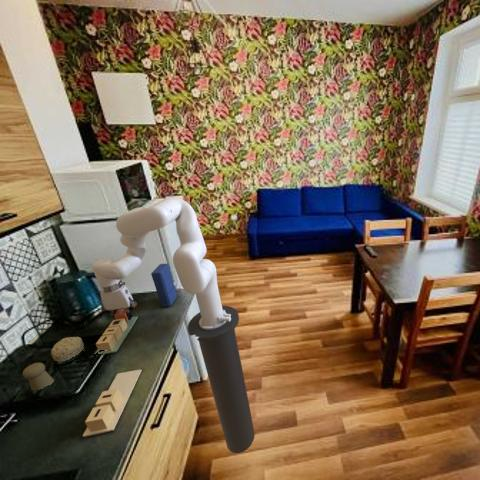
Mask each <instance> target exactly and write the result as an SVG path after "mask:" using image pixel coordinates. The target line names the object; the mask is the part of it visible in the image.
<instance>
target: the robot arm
mask: <svg viewBox="0 0 480 480" xmlns="http://www.w3.org/2000/svg"><path fill="white" fill-rule="evenodd" d="M174 221H175V224H176V225H175V226H176V234H177V236H178V239H179V242H180V246H178V248H177V249H176V250H175V251H174V253H173V256H172V265H173V267H174V269H175V272H176V275H177V277H178V280H179V282H180V285H181V287H182V288H183V290H184V291H185V292H187V293H189V294H192V295H195V298H196V300H197V305H198V309H199V310H198V311H199V312H200V314H201V319H200V321H199V325H200V327H201V328H202V329H205V330H212V329H216V328H218V327H220V326H222V325H223V324H224V323H225V322H226V321H229V322H230V321H231V317H230V316H231V314H227V313H226V312H225V310H223V309H222V306H223V303H222V300H221V296H220V295H221V294H220V290H219V285H218V276H217V275H218V273H217V267H216V265H215V263H214V262H213V261H212V260H210V259H207V258H205V256H206V254H207V252H208V249H207V246H206V245H207V244H206V243H205V239H204V236H203V234H202V231H201V228H200V224H199V221H198V217H197V214H196V212H195V210H194V208H193V207H192V206H191V204H190V203H189V202H187V201H186V200H184V199H182V198H179V197H173V196H172V197H167V198H164V199H161V200H159V201H158V202H156V203H154V204H151V205H150V206H148V207H142V206H139V207H135V208H133V209H129V210H128V211H126V212H124V213H122V214H120V215H119V216H118V217H117V218H116V224H115V227H116V229H117V231H118V232H119V234H121V235H120V237H119V240H120V243H121V245H123V246H124V247H126V248H127V249H126V251H125V253H124V255H123V256H121V257H119V258H118V259H116V260H115V261H114V260H113V258H106V257H105V258H102V259H101V258H100V259H98V260H96V261H94V262H93V263H92V264H91V269H92V271H93V273H94V276H95V279H96V281H97V283H98V286H99V288H100V299H101V303H102V307H101V308H100V310H101V311H103V312H106V313H107V314H110V316H112V318H113V320H115V317H114V315H115V314H116V312H117V311H118V310H119V309H125V311H126V312H127V313H126V315H127V317H128V320H131V318H132V317H134V313H133V310H134V308H136V307H137V306H138V302H137V301H135V300H134V298H133V296H132V293H131V292H130V290H129V288H128V287H127V285H126V281H122V280H124V279H126V278H127V277H129V276H130V275H131V274H133V272H134V271H136V270H137V269H138V268H139V267H140V266H141V265H142V263H143V261H144V258H145V256H146V254H147V245H146V242H147V240H148V237H149V234H150V233H151V232H154V231H158V230H161V229H162V228H165V227H167V226H168V225H169V224H171V223H173V222H174Z"/></svg>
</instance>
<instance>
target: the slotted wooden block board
mask: <svg viewBox="0 0 480 480" xmlns="http://www.w3.org/2000/svg"><path fill="white" fill-rule="evenodd" d="M142 371H143V370H142V369H135V370H130V371H123V372H118V373H117V374H116V375H115V377H114V379H113V380H112V383H111V385H110V386H109V388H108V389H107V390H104V391H102V392H101V394H100V395H99V398H98V399H97V400H96V402H95V404H94V405H95V406H93V407H92V409H91V411H90V412H89V414H88V416H87V418H86V420H85V421H84V424H85V425H86V429H85V431H84V432H83V434H82V437H83V438H87V437H91V436H96V435H101V434H104V433H109V432H114V431H115V428H116V426H117V424H118V423H119V419H120V417H121V416H122V413H123V411H124V409H125V408H126V405H127V403H128V401H129V398H130V397H131V394H132V392H133V390H134V388H135V386H136V383H137V381H138V379H139V377H140V375H141V373H142Z"/></svg>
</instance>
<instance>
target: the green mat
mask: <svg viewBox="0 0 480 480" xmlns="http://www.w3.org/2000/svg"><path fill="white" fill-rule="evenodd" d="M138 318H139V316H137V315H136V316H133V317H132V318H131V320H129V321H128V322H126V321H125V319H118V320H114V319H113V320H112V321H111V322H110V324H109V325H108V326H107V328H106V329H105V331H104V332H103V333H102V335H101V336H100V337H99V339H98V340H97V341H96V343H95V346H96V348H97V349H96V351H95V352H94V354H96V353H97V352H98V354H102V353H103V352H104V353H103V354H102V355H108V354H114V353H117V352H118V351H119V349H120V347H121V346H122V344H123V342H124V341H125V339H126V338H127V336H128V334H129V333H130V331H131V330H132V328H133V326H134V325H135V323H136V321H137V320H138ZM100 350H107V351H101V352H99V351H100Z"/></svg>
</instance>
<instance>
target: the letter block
mask: <svg viewBox="0 0 480 480" xmlns="http://www.w3.org/2000/svg"><path fill="white" fill-rule="evenodd" d="M116 311H117V312H116V314H115V315H114V317H115V320H118V319H125V321H126V322H128V321H129V320H128V317H127V315H126V313H127V312H126V311H125V309H124V308H122V309H117V310H116Z"/></svg>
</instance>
